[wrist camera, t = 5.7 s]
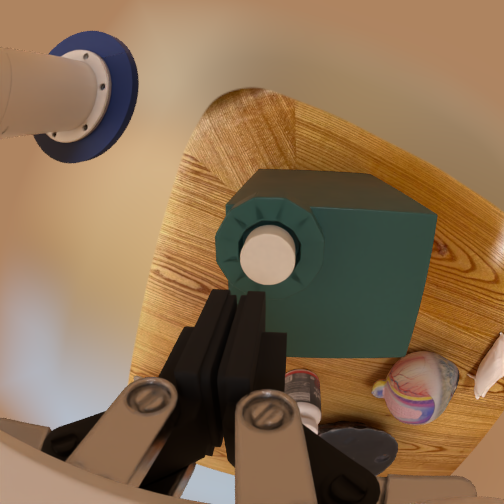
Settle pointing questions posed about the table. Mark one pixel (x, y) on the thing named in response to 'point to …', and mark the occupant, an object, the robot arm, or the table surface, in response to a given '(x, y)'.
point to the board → (361, 444)
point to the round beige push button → (268, 255)
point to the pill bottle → (305, 396)
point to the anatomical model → (418, 387)
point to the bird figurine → (490, 368)
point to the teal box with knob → (334, 260)
